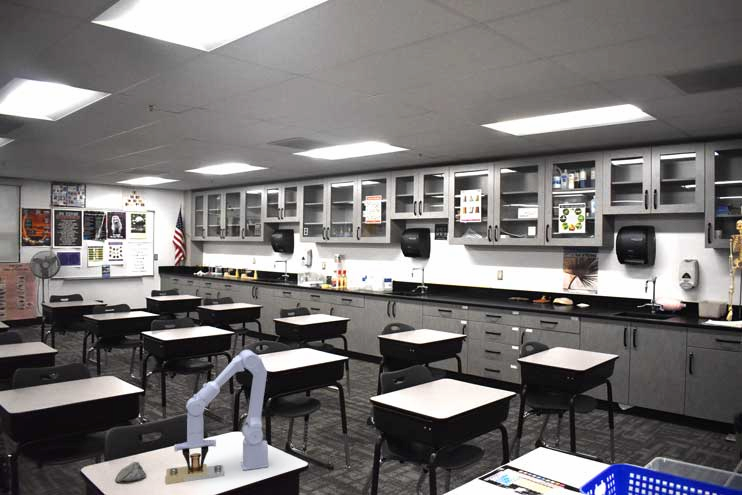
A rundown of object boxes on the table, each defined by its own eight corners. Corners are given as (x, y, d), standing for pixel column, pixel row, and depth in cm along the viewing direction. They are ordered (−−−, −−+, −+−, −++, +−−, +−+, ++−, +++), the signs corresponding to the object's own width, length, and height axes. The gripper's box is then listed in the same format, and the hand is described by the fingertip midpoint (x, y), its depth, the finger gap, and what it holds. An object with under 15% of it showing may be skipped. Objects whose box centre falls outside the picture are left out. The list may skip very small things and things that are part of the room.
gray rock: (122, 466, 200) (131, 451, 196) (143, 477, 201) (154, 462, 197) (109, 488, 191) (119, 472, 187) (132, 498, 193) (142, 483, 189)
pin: (200, 470, 198) (200, 452, 198) (201, 475, 195) (200, 456, 194) (190, 472, 197) (189, 453, 197) (190, 476, 193) (190, 458, 193)
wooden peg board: (222, 467, 203) (222, 458, 203) (224, 475, 195) (224, 466, 195) (166, 475, 196) (166, 466, 196) (166, 484, 188) (166, 474, 188)
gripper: (215, 425, 202) (215, 461, 202) (174, 430, 197) (174, 466, 197) (216, 431, 195) (216, 468, 195) (174, 435, 190) (174, 474, 190)
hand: (195, 467), depth 195 cm, fingers open, 4 cm apart
